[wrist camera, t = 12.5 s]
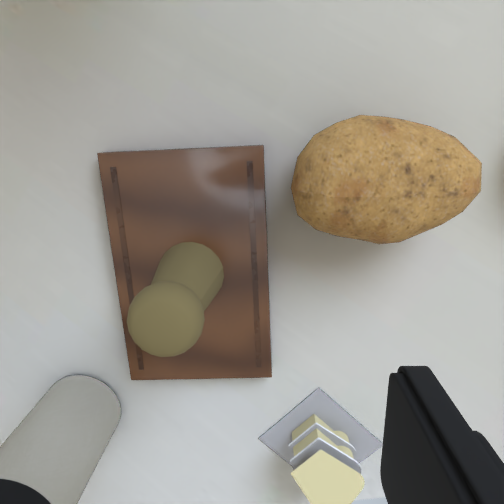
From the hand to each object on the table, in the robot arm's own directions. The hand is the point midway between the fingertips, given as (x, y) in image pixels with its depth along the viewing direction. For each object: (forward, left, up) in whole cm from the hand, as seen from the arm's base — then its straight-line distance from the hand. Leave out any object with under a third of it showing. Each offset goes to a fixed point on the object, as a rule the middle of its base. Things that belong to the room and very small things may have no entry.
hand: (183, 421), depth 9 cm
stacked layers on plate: (+26, +7, -28) cm, 39 cm away
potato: (-2, +11, -28) cm, 30 cm away
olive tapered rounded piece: (+6, -5, -27) cm, 28 cm away
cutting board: (+6, -5, -28) cm, 29 cm away
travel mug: (+21, -18, -28) cm, 39 cm away
